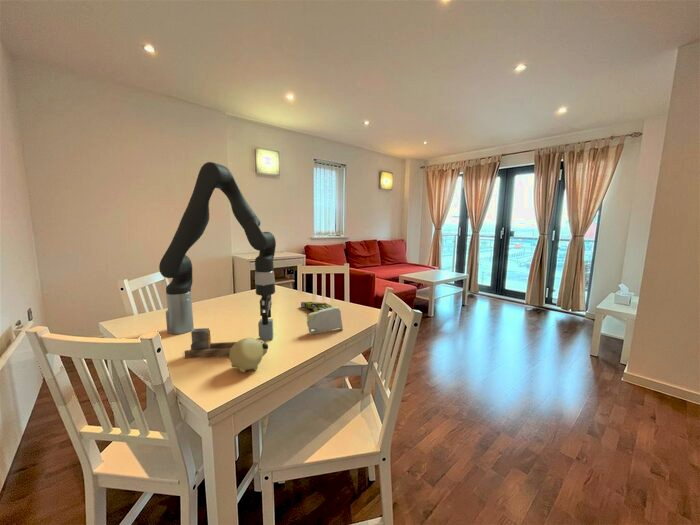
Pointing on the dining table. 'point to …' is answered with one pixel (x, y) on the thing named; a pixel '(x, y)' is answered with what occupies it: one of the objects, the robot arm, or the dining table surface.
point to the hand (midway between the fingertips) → (266, 320)
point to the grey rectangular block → (266, 330)
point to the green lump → (315, 305)
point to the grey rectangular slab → (324, 320)
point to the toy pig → (247, 353)
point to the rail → (210, 352)
